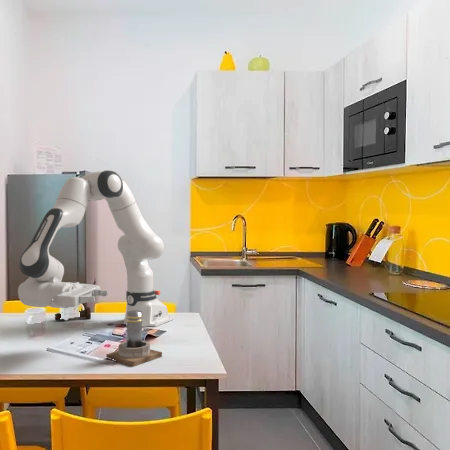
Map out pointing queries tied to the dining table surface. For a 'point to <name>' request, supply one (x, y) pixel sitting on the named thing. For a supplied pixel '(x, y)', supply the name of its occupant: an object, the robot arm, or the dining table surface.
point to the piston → (134, 329)
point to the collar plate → (134, 360)
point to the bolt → (83, 314)
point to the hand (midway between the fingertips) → (101, 296)
